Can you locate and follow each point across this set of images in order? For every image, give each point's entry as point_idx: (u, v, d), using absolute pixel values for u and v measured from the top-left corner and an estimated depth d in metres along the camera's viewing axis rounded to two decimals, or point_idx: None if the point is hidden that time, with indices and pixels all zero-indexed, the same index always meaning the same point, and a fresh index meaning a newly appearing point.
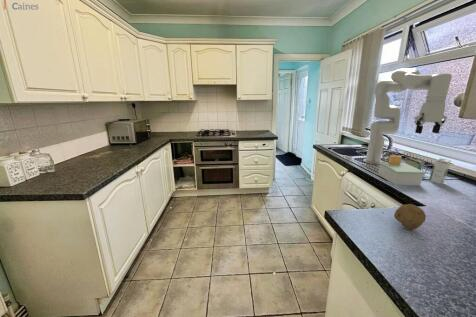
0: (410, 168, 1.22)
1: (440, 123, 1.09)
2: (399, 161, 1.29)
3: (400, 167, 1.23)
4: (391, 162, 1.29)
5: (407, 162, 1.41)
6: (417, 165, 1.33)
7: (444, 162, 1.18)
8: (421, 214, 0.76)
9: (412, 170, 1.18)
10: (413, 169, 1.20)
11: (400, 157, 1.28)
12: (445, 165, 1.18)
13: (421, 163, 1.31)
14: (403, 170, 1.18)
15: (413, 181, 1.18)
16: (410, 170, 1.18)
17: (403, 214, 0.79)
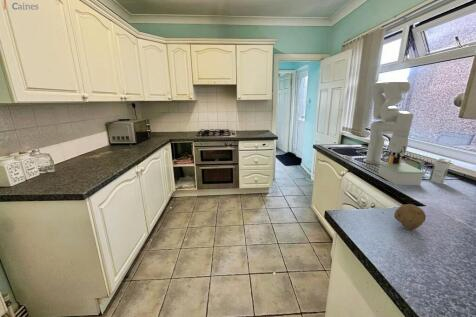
0: (410, 168, 1.22)
1: None
2: (399, 161, 1.29)
3: (400, 167, 1.23)
4: (391, 162, 1.29)
5: (407, 162, 1.41)
6: (417, 165, 1.33)
7: (444, 162, 1.18)
8: (421, 214, 0.76)
9: (412, 170, 1.19)
10: (413, 169, 1.20)
11: None
12: (445, 165, 1.18)
13: (421, 163, 1.31)
14: (403, 170, 1.19)
15: (413, 181, 1.18)
16: (410, 170, 1.19)
17: (403, 214, 0.79)
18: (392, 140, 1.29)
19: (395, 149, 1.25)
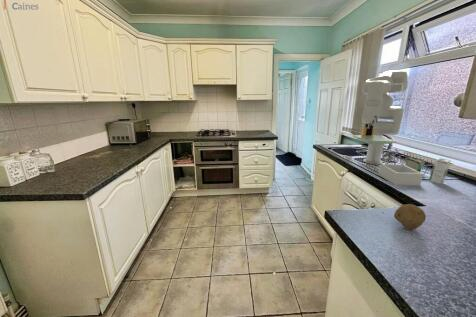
0: (382, 138, 1.18)
1: None
2: (372, 133, 1.25)
3: (372, 138, 1.20)
4: (364, 134, 1.26)
5: (407, 162, 1.41)
6: (417, 165, 1.33)
7: (444, 162, 1.18)
8: (421, 214, 0.76)
9: (383, 140, 1.15)
10: (384, 139, 1.17)
11: (373, 128, 1.24)
12: (445, 165, 1.18)
13: (421, 163, 1.31)
14: (374, 140, 1.15)
15: (413, 181, 1.18)
16: (381, 140, 1.15)
17: (403, 214, 0.79)
18: (364, 111, 1.25)
19: (367, 120, 1.22)
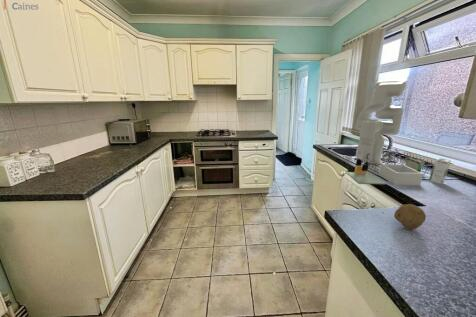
0: (373, 178, 1.26)
1: None
2: (365, 171, 1.33)
3: (364, 177, 1.27)
4: (357, 172, 1.33)
5: (407, 162, 1.41)
6: (417, 165, 1.33)
7: (444, 162, 1.18)
8: (421, 214, 0.76)
9: (374, 181, 1.23)
10: (375, 179, 1.24)
11: None
12: (445, 165, 1.18)
13: (421, 163, 1.31)
14: (365, 181, 1.23)
15: (413, 181, 1.18)
16: (372, 181, 1.23)
17: (403, 214, 0.79)
18: (358, 147, 1.31)
19: (361, 156, 1.28)
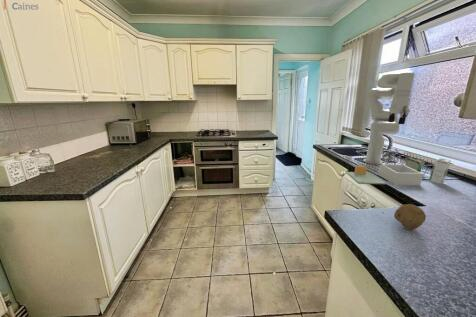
0: (373, 178, 1.26)
1: None
2: (365, 171, 1.33)
3: (364, 177, 1.28)
4: (357, 172, 1.34)
5: (407, 162, 1.41)
6: (417, 165, 1.33)
7: (444, 162, 1.18)
8: (421, 214, 0.76)
9: (374, 181, 1.23)
10: (375, 179, 1.24)
11: (365, 167, 1.32)
12: (445, 165, 1.18)
13: (421, 163, 1.31)
14: (365, 181, 1.23)
15: (413, 181, 1.18)
16: (372, 181, 1.23)
17: (403, 214, 0.79)
18: (393, 101, 1.28)
19: (396, 110, 1.25)
